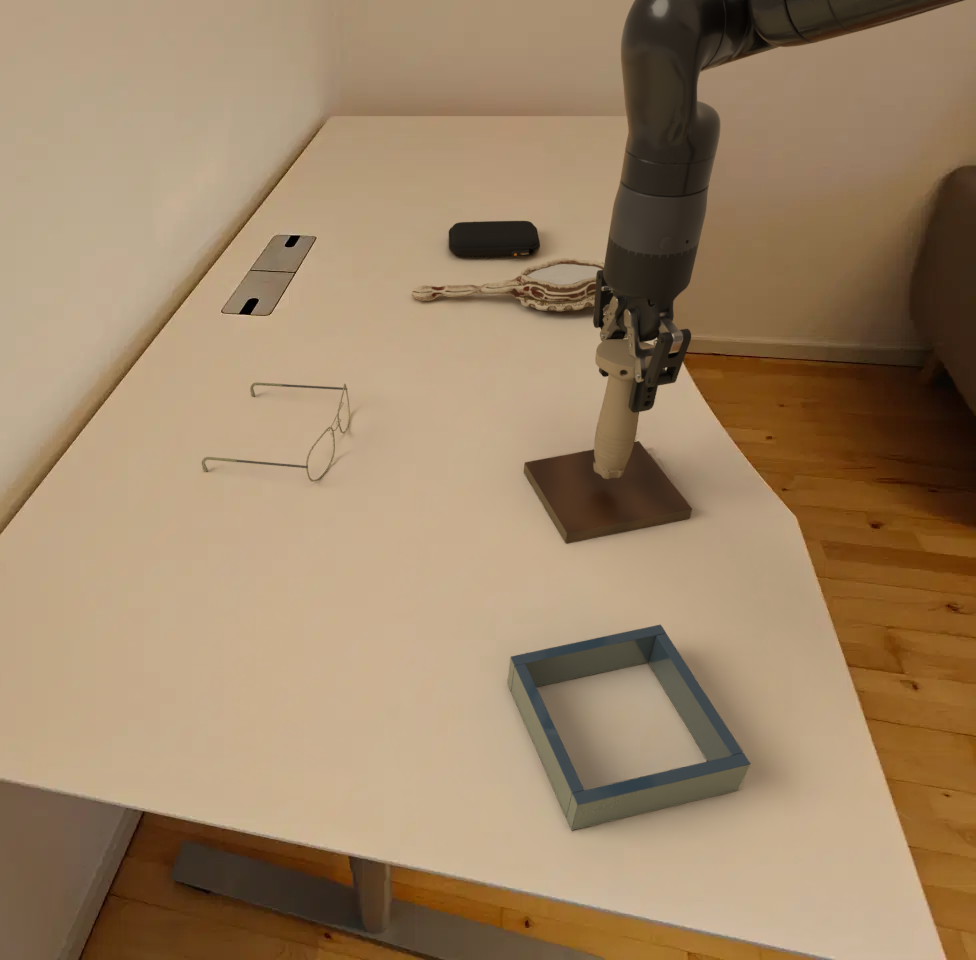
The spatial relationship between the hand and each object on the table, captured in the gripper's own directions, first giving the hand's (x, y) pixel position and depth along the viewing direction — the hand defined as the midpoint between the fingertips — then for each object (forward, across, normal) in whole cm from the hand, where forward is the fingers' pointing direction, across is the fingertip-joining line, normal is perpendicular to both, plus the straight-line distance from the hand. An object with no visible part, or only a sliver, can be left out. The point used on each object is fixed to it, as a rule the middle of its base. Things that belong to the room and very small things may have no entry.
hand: (624, 390), depth 84 cm
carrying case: (+14, +61, -9) cm, 63 cm away
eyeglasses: (+14, +20, +33) cm, 41 cm away
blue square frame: (+14, -28, +12) cm, 33 cm away
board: (+14, 0, 0) cm, 14 cm away
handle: (+11, 0, 0) cm, 11 cm away
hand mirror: (+14, +44, -6) cm, 46 cm away
